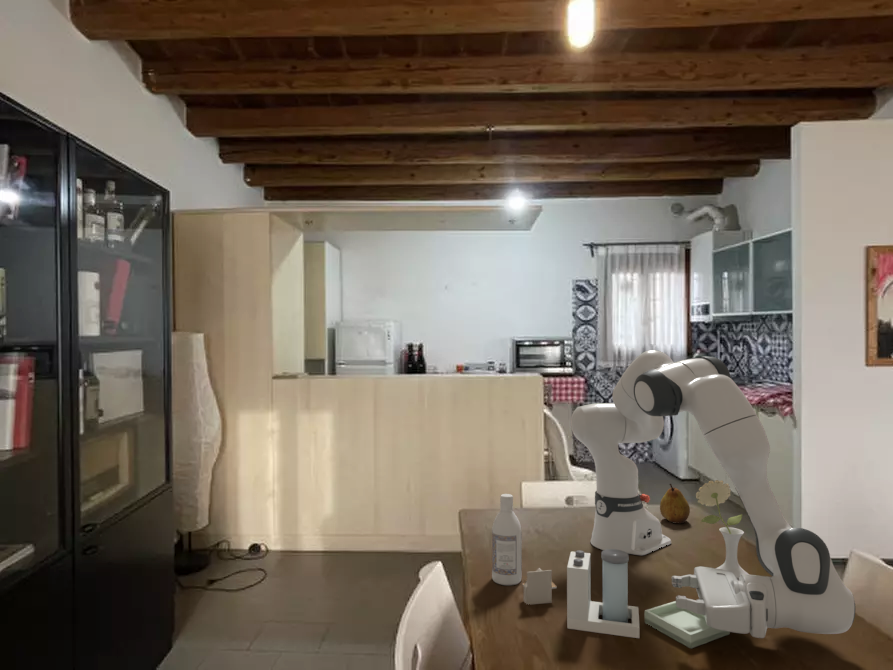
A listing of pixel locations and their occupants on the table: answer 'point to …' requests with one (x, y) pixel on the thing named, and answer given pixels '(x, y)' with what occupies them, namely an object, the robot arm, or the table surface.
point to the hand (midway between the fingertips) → (673, 590)
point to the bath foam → (506, 544)
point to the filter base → (591, 602)
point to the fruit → (674, 506)
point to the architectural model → (538, 587)
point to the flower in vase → (713, 496)
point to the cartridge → (615, 585)
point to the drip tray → (682, 625)
